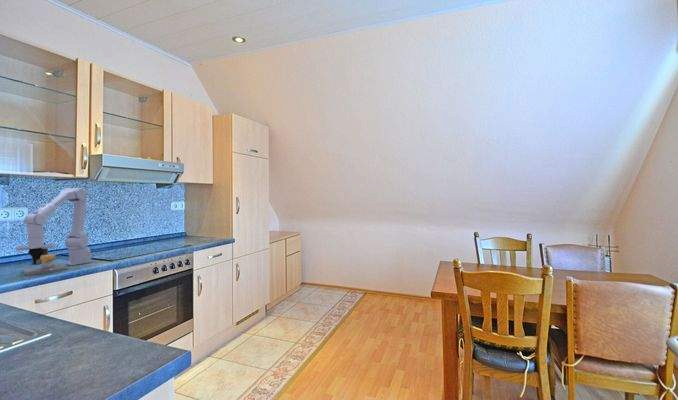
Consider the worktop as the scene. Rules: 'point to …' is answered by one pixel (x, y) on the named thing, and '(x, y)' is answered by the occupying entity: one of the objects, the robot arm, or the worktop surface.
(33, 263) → the supplement bottle
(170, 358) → the worktop surface
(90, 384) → the worktop surface
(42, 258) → the crank handle
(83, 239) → the robot arm
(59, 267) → the plate
